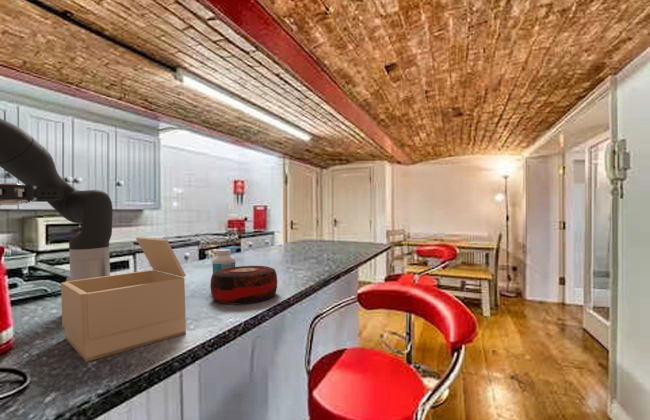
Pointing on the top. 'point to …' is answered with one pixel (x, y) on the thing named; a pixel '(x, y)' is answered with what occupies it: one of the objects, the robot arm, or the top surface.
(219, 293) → the wheel
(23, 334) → the top surface
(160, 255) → the carton flap
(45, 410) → the top surface
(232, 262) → the pill bottle
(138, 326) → the carton
